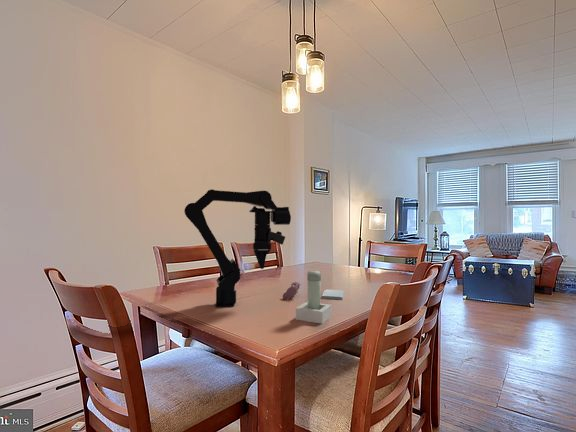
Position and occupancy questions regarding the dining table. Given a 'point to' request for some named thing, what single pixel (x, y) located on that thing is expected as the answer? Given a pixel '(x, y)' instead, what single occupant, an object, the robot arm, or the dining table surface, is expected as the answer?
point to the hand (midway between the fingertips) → (262, 266)
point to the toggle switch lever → (314, 289)
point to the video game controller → (291, 290)
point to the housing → (314, 313)
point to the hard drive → (333, 294)
